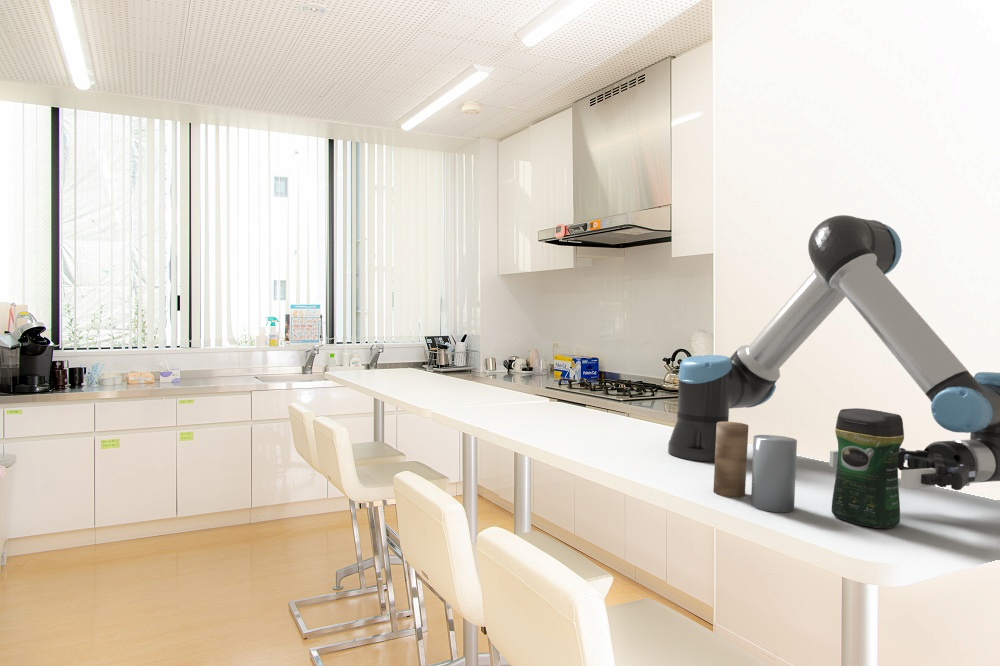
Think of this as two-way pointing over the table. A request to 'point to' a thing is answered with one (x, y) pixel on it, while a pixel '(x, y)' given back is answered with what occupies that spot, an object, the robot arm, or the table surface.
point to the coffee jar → (868, 467)
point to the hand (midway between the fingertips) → (864, 468)
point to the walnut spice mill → (730, 459)
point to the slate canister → (773, 473)
